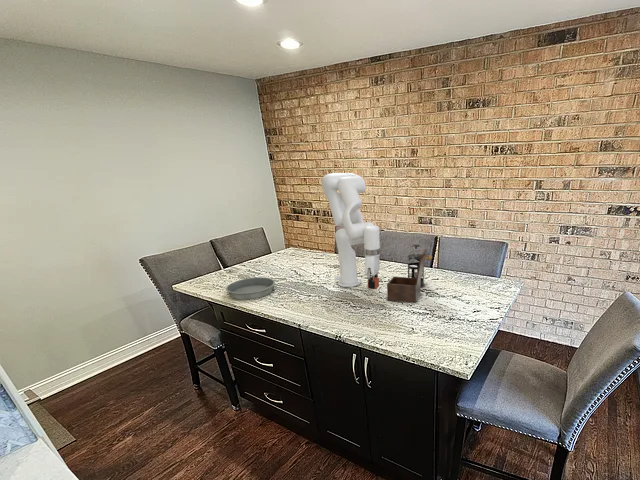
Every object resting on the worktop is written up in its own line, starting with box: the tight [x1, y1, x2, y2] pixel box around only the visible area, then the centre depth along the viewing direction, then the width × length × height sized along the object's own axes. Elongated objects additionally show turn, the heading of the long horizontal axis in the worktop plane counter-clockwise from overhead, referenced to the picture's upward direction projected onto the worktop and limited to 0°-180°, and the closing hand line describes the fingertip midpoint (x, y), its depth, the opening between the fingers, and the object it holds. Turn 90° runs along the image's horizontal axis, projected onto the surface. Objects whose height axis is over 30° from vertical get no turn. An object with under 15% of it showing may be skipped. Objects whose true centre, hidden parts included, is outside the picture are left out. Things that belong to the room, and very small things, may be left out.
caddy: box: [386, 276, 422, 304], centre depth 172 cm, size 15×12×9 cm
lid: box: [415, 248, 433, 285], centre depth 164 cm, size 15×12×5 cm
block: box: [371, 277, 380, 290], centre depth 169 cm, size 4×4×4 cm
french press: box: [407, 244, 425, 288], centre depth 185 cm, size 12×9×23 cm
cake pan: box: [225, 276, 276, 301], centre depth 183 cm, size 25×25×4 cm
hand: (373, 286), depth 169 cm, fingers closed on block, 4 cm apart
